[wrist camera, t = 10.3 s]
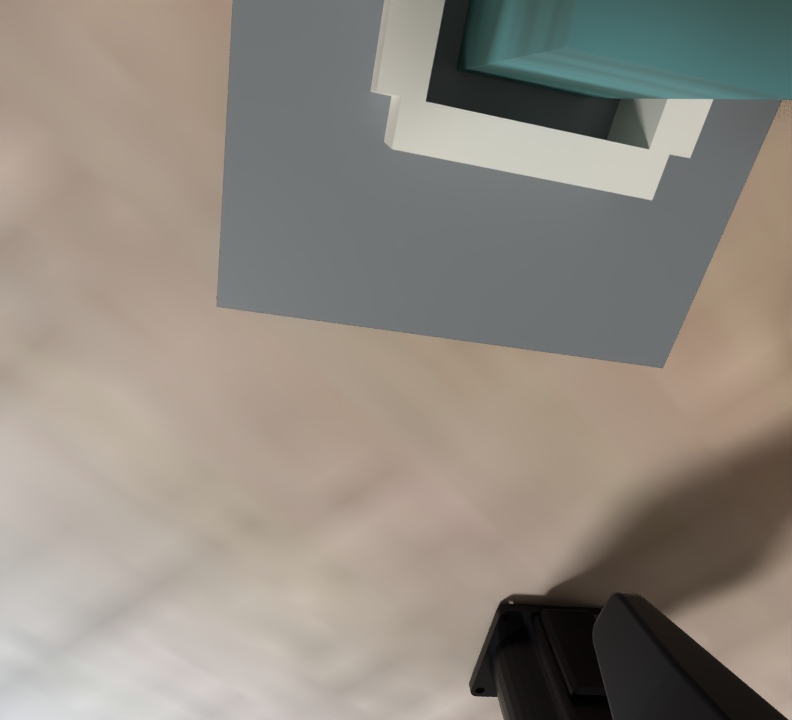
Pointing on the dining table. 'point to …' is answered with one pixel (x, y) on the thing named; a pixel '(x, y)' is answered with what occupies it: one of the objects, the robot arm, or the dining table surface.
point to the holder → (463, 187)
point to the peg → (634, 47)
